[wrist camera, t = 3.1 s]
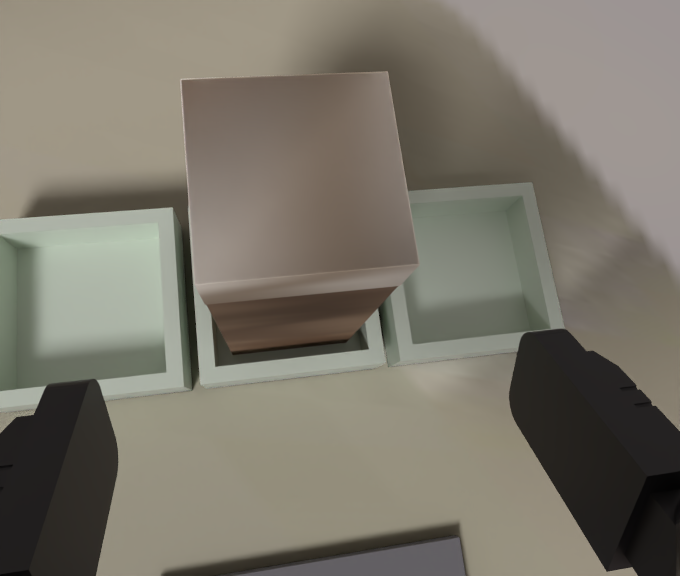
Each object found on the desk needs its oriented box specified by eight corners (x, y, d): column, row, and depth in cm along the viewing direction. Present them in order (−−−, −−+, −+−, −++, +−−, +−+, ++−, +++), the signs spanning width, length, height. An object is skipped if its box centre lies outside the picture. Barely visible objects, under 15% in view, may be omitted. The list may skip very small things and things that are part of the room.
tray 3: (388, 367, 20) (400, 360, 18) (365, 214, 22) (375, 193, 20) (540, 349, 21) (567, 341, 19) (509, 202, 22) (532, 182, 21)
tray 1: (7, 412, 18) (-24, 411, 16) (8, 241, 20) (-20, 221, 18) (192, 390, 19) (183, 386, 17) (181, 227, 21) (172, 207, 19)
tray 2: (206, 388, 19) (200, 384, 17) (195, 226, 21) (187, 206, 19) (374, 368, 20) (385, 362, 18) (353, 214, 22) (361, 194, 20)
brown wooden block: (232, 355, 19) (194, 285, 10) (223, 245, 20) (180, 79, 10) (346, 343, 20) (420, 264, 10) (332, 236, 21) (388, 71, 11)
